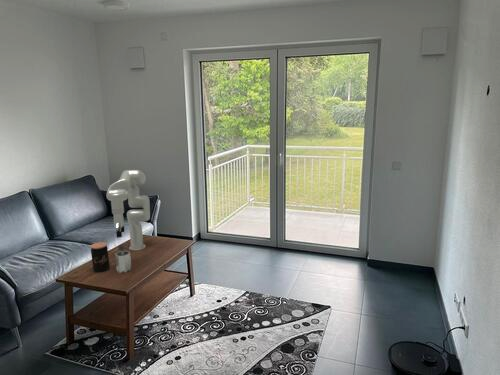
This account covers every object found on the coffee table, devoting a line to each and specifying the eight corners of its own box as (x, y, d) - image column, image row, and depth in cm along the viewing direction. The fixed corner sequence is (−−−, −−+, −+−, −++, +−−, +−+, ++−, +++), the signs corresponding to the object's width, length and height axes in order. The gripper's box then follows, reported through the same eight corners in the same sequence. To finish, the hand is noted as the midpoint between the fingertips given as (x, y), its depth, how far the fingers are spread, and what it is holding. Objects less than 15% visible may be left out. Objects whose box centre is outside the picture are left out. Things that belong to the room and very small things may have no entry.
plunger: (119, 263, 262) (117, 243, 259) (129, 262, 263) (127, 243, 260) (117, 267, 256) (115, 247, 253) (127, 266, 257) (125, 246, 254)
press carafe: (119, 266, 266) (117, 250, 264) (132, 264, 268) (131, 249, 265) (115, 273, 255) (113, 256, 252) (130, 272, 256) (128, 255, 254)
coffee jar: (94, 273, 255) (91, 248, 251) (92, 268, 264) (89, 243, 260) (110, 270, 260) (107, 245, 256) (108, 264, 269) (105, 241, 265)
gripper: (114, 207, 259) (117, 230, 263) (109, 214, 242) (112, 239, 246) (126, 206, 260) (128, 229, 264) (121, 214, 243) (124, 238, 247)
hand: (120, 234), depth 255 cm, fingers open, 9 cm apart
